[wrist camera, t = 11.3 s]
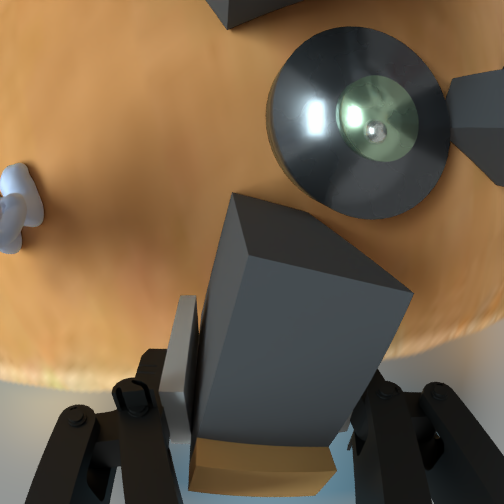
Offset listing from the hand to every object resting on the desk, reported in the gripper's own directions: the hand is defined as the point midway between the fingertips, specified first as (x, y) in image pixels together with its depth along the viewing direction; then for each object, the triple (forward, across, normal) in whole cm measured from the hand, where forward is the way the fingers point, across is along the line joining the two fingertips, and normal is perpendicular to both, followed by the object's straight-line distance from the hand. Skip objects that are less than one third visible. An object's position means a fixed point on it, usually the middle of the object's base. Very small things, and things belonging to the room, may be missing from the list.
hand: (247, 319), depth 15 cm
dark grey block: (+2, 0, +2) cm, 3 cm away
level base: (+3, +6, +10) cm, 12 cm away
